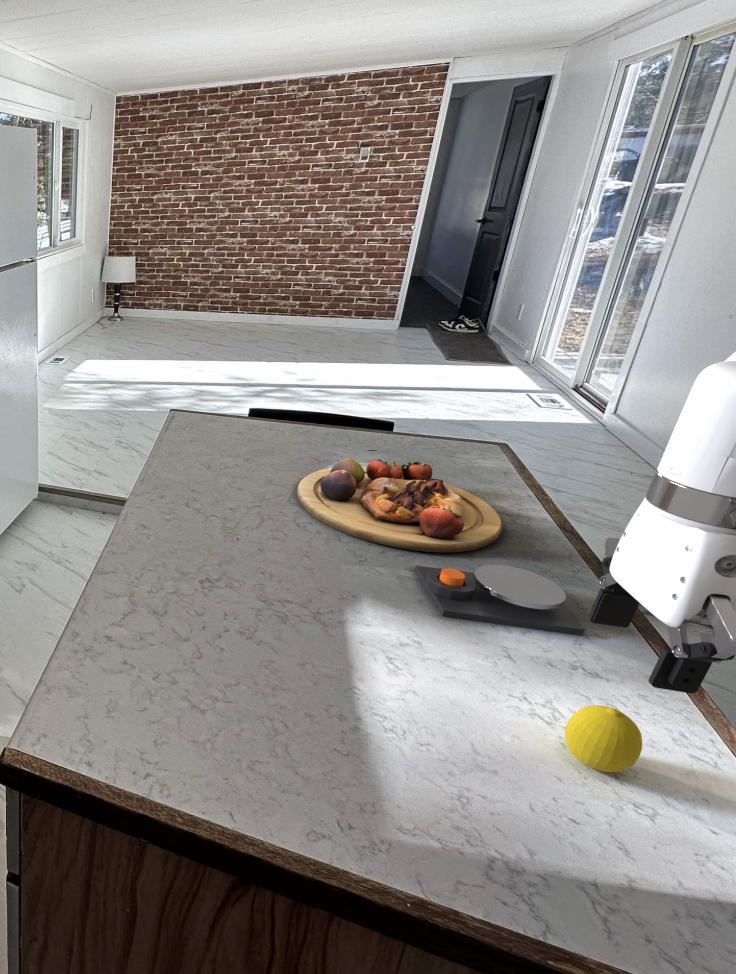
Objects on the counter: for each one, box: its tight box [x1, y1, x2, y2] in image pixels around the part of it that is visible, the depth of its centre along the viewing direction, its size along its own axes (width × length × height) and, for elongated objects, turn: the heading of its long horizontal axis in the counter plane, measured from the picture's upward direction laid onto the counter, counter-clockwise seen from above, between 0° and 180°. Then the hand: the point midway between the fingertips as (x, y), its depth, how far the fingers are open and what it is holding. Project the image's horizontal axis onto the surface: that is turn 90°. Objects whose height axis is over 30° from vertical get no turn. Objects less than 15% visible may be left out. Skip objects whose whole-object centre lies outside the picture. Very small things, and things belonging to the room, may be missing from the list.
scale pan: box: [474, 564, 567, 610], centre depth 92 cm, size 10×10×1 cm
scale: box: [413, 565, 585, 637], centre depth 94 cm, size 16×12×4 cm
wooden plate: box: [296, 457, 504, 553], centre depth 120 cm, size 32×32×8 cm
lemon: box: [564, 704, 643, 773], centre depth 67 cm, size 6×6×8 cm
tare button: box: [439, 567, 465, 587], centre depth 95 cm, size 3×3×2 cm
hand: (637, 653), depth 63 cm, fingers open, 9 cm apart
